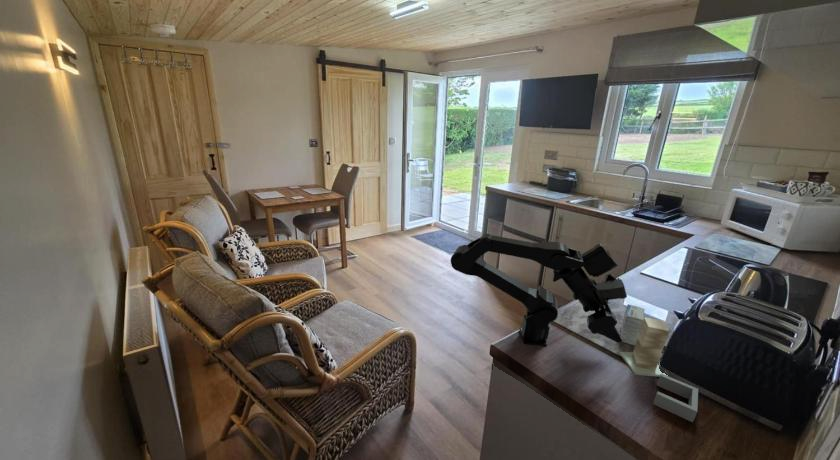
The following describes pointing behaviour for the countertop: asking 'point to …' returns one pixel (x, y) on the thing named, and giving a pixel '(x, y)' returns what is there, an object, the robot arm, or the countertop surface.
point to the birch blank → (650, 343)
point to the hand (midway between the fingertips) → (617, 331)
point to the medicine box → (632, 324)
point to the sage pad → (638, 370)
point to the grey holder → (675, 405)
